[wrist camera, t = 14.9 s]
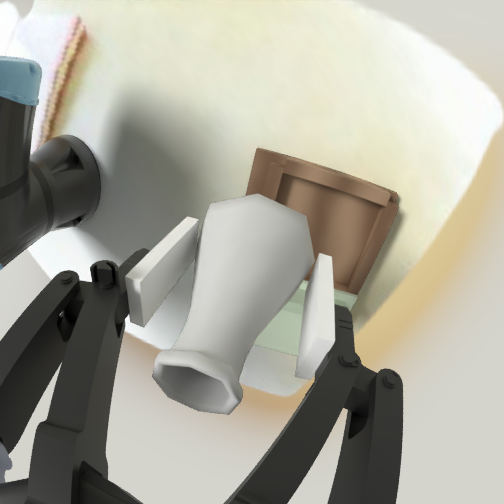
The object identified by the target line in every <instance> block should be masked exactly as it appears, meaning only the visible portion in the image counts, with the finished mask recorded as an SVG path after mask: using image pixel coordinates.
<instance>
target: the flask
mask: <svg viewBox="0 0 504 504" xmlns="http://www.w3.org/2000/svg"><path fill="white" fill-rule="evenodd" d="M314 263H315V259H314V253H313V248H312V242H311V237H310V232H309V227H308V222H307V217H306V216H305V215H303V214H301V213H299V212H297V211H295V210H293V209H291V208H289V207H286V206H284V205H282V204H280V203H278V202H276V201H273V200H271V199H269V198H267V197H265V196H262V195H260V194H253V195H248V196H243V197H238V198H234V199H229V200H224V201H220V202H215V203H211V204H210V206H209V209H208V212H207V215H206V218H205V221H204V224H203V227H202V230H201V233H200V236H199V239H198V242H197V247H196V257H195V270H194V280H193V289H192V297H191V306H190V312H189V315H188V318H187V321H186V324H185V326H184V328H183V330H182V332H181V334H180V335H179V337H178V339H177V341H176V343H175V345H174V346H173V347H172V348H171V350H166V349H165V350H162V351H161V352H160V353H159V354H158V356H157V358H156V360H155V365H154V370H153V375H152V377H153V379H154V380H155V381H156V383H157V384H158V385H159V386H160V388H161V389H162V390H163V392H164V393H165V394H166V395H167V396H168V397H169V398H171V399H173V400H175V401H177V402H179V403H182V404H184V405H186V406H188V407H190V408H193V409H195V410H197V411H203V412H209V413H218V414H228V415H229V414H230V413H231V412H232V411H233V410H234V409H235V408H236V407H237V406H238V404H239V403H240V402H241V400H242V397H243V390H242V387H241V385H240V383H239V377H240V374H241V371H242V368H243V365H244V362H245V359H246V356H247V354H248V352H249V351H250V349H251V347H252V345H253V344H254V342H255V340H256V338H257V337H258V336H259V335H260V333H261V332H262V331H263V330H264V329H265V328H266V326H267V325H268V324H269V323H270V322H271V320H272V319H273V318H274V317H275V316H276V315H277V314H278V313H279V312H280V311H281V310H282V308H283V307H284V306H285V305H286V304H287V303H288V302H289V301H290V300H291V298H292V297H293V296H294V294H295V293H296V291H297V290H298V288H299V287H300V285H301V283H302V282H303V280H304V279H305V277H306V275H307V274H308V272H309V271H310V269H311V267H312V266H313V264H314Z"/></svg>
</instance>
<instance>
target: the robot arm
mask: <svg viewBox="0 0 504 504" xmlns="http://www.w3.org/2000/svg"><path fill="white" fill-rule="evenodd" d="M41 78H42V69H41V67H40V65H39V64H38V63H37V62H35V61H33V60H29V59H24V58H17V57H8V56H0V270H2V268H3V267H4V266H6V265H7V264H8V263H9V262H10V261H12V260H13V259H14V258H15V257H17V256H18V255H19V254H20V253H22V252H23V251H24V250H25V249H27V248H28V247H29V246H31V245H32V244H33V243H34V242H36V241H37V240H38V239H40V238H41V237H42V236H44V235H45V234H47V233H48V232H50V231H55V230H60V229H65V228H70V227H75V226H77V225H79V224H81V223H83V222H84V221H86V220H87V219H89V218H90V217H91V216H92V215H93V213H94V212H95V210H96V208H97V206H98V202H99V198H100V177H99V172H98V168H97V165H96V162H95V159H94V157H93V155H92V153H91V152H90V150H89V149H88V147H87V146H86V145H85V144H84V143H83V142H82V141H81V140H80V139H78V138H76V137H74V136H71V135H62V136H58V137H55V138H52V139H50V140H48V141H47V142H45V143H44V144H43V145H42V146H40V147H39V148H38V149H37V150H36V151H34V152H33V153H32V154H31V155H30V149H31V138H32V130H33V123H34V116H35V110H36V106H37V105H38V103H39V99H38V95H39V89H40V83H41ZM198 225H199V219H196V218H192V217H188V216H187V217H186V218H185V219H184V220H183V221H182V222H181V223H180V224H179V225H178V226H176V227H175V228H174V229H173V230H172V231H171V232H170V233H169V234H168V235H167V236H166V237H165V238H164V239H163V240H161V241H160V242H159V243H158V244H157V245H156V246H155V247H154V248H153V249H152V250H151V251H150V250H147V249H144V248H143V249H141V250H139V251H136V252H135V253H134V254H133V255H132V256H130V258H128V259H127V260H126V261H125V262H124V263H123V264H122V265H121V266H120V267H119V268H118V266H117V264H116V263H114V262H112V261H108V260H102V261H98V262H96V263H94V264H93V265H92V266H91V267H90V271H91V277H92V282H86V281H80V280H79V276H78V274H77V273H76V272H74V271H70V270H68V271H63V272H60V273H59V274H57V275H56V276H55V277H54V278H53V279H52V280H51V282H50V283H49V284H48V285H47V286H46V287H45V288H44V289H43V290H42V291H41V292H40V294H39V295H38V296H37V297H36V298H35V299H34V300H33V301H32V303H31V304H30V305H29V306H28V307H27V308H26V310H25V311H24V312H23V313H22V315H21V316H20V317H19V318H18V319H17V321H16V322H15V323H14V324H13V325H12V327H11V328H10V329H9V330H8V332H7V333H6V334H5V336H4V337H3V338H2V340H1V341H0V504H143V503H142V502H140V501H139V500H137V499H136V498H135V497H134V496H132V495H131V494H130V493H128V492H127V491H125V490H123V489H121V488H120V487H119V486H117V485H116V484H114V483H112V482H110V481H109V480H108V463H107V459H106V453H105V452H106V440H107V429H108V421H109V413H110V405H111V398H112V392H113V386H114V379H115V373H116V368H117V363H118V358H119V353H120V348H121V343H122V338H123V334H124V329H125V318H126V317H127V316H128V314H129V316H130V322H132V323H134V324H136V325H139V326H141V327H145V325H146V324H147V323H148V321H149V320H150V318H151V317H152V316H153V314H154V313H155V311H156V310H157V309H158V307H159V306H160V304H161V303H162V302H163V300H164V299H165V298H166V296H167V295H168V294H169V292H170V291H171V289H172V288H173V287H174V285H175V284H176V283H177V281H178V280H179V279H180V277H181V276H182V275H183V273H184V272H185V271H186V269H187V268H188V267H189V265H190V264H191V263H192V261H193V260H194V259H195V253H196V243H197V234H198ZM61 312H62V314H61V315H60V313H61ZM59 315H60V316H59ZM352 323H353V322H352V315H351V313H350V311H349V309H348V308H347V307H344V306H340V305H337V304H334V285H333V267H332V257H331V256H328V255H325V254H321V253H319V255H318V258H317V261H316V263H315V266H314V269H313V271H312V274H311V277H310V279H309V282H308V284H307V287H306V290H305V298H304V308H303V317H302V325H301V334H300V342H299V350H298V357H297V364H296V371H295V377H299V378H304V379H308V380H311V379H312V378H313V376H314V375H315V382H314V383H313V385H312V386H311V387H310V389H309V390H308V392H307V393H306V394H305V397H304V399H303V400H302V402H301V403H300V405H299V406H298V408H297V409H296V411H295V412H294V414H293V415H292V417H291V419H290V420H289V421H288V423H287V424H286V426H285V427H284V429H283V430H282V432H281V433H280V435H279V436H278V437H277V439H276V440H275V442H274V443H273V444H272V446H271V447H270V448H269V449H268V451H267V452H266V453H265V455H264V456H263V457H262V459H261V460H260V461H259V462H258V464H257V465H256V466H255V468H254V469H253V470H252V471H251V473H250V474H249V475H248V476H247V477H246V479H245V480H244V481H243V482H242V483H241V485H240V486H239V487H238V488H237V489H236V490H235V492H234V493H233V494H232V495H231V496H230V497H229V498H228V500H227V501H226V502H225V503H224V504H287V503H288V502H289V500H290V499H291V497H292V496H293V494H294V493H295V491H296V490H297V488H298V487H299V485H300V484H301V482H302V480H303V479H304V477H305V476H306V474H307V473H308V471H309V470H310V468H311V466H312V465H313V463H314V461H315V459H316V458H317V456H318V454H319V452H320V451H321V449H322V447H323V445H324V444H325V442H326V440H327V438H328V436H329V434H330V432H331V431H332V429H333V427H334V425H335V423H336V421H337V419H338V417H339V415H340V413H341V411H342V409H343V408H345V409H348V413H347V419H346V425H345V430H344V436H343V441H342V446H341V451H340V456H339V460H338V465H337V469H336V474H335V478H334V481H333V485H332V489H331V493H330V497H329V500H328V504H396V498H397V492H398V484H399V476H400V465H401V453H402V436H403V383H402V380H401V378H400V376H399V375H398V374H397V373H396V372H395V371H393V370H391V369H382V370H380V371H379V372H378V373H376V372H374V371H372V370H370V369H368V368H366V367H364V366H363V365H362V364H361V360H360V357H359V356H358V355H357V354H356V353H355V347H354V334H353V324H352ZM61 362H62V364H61ZM60 364H61V368H60V371H59V374H58V378H57V381H56V385H55V389H54V392H53V397H52V400H51V405H50V409H49V413H48V417H47V419H46V420H45V421H44V422H40V423H39V425H38V426H37V429H36V433H35V438H34V444H33V449H32V456H31V463H30V471H29V478H27V479H22V480H17V481H12V482H7V483H5V478H4V475H5V471H6V470H10V469H11V468H12V461H11V459H10V458H9V456H8V454H9V453H10V452H11V451H12V450H13V449H14V447H15V446H16V444H17V443H18V441H19V440H20V438H21V436H22V434H23V432H24V430H25V428H26V426H27V424H28V422H29V420H30V418H31V416H32V414H33V412H34V410H35V408H36V406H37V404H38V402H39V401H40V399H41V397H42V395H43V393H44V391H45V390H46V388H47V386H48V384H49V382H50V381H51V379H52V377H53V376H54V374H55V372H56V371H57V369H58V367H59V365H60Z"/></svg>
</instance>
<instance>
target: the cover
mask: <svg viewBox="0 0 504 504" xmlns="http://www.w3.org/2000/svg"><path fill="white" fill-rule="evenodd" d="M308 282H309V281H305V280H303V282H302V283H301V285H300V287H299V288H298V290H297V291H296V293H295V294H294V296H293V297H292V298H291V300H290V301H289V302H288V303H287V304H286V305H285V306H284V307H283V308H282V310H281V311H280V312H279V313H278V314H277V315H276V316H275V317H274V318H273V319H272V320H271V322H270V323H269V324H268V325H267V326H266V328H265V329H264V330H263V331H262V332H261V333H260V335H259V336H258V337H257V338H256V340H255V342H254V345H258V346H261V347H265V348H269V349H272V350H276V351H280V352H284V353H288V354H292V355H296V356H298V350H299V342H300V334H301V325H302V317H303V308H304V298H305V290H306V287H307V284H308ZM356 300H357V295H354V294H351V293H347V292H344V291H340V290H337V289H334V304H337V305H340V306H344V307H347V308H348V309H349V311H351V309H352V307H353V305H354V304H355V302H356Z"/></svg>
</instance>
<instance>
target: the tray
mask: <svg viewBox="0 0 504 504" xmlns="http://www.w3.org/2000/svg"><path fill="white" fill-rule="evenodd" d="M253 194H260V195H262V196H265V197H267V198H269V199H271V200H273V201H276V202H278V203H280V204H282V205H284V206H286V207H289V208H291V209H293V210H295V211H297V212H299V213H301V214H303V215H305V216H306V217H307V222H308V227H309V232H310V237H311V242H312V248H313V253H314V259H315V263H316V261H317V258H318V255H319V253H321V254H325V255H328V256H331V257H332V267H333V285H334V289H337V290H340V291H344V292H347V293H351V294H354V295H357V294H358V292H359V290H360V288H361V287H362V285H363V283H364V281H365V279H366V277H367V275H368V273H369V271H370V269H371V267H372V265H373V263H374V261H375V259H376V257H377V255H378V253H379V251H380V249H381V247H382V244H383V242H384V240H385V238H386V236H387V234H388V231H389V229H390V227H391V225H392V222H393V220H394V218H395V215H396V213H397V211H398V208H399V207H398V205H397V204H396V200H397V198H398V194H397V193H396V192H394V191H391V190H389V189H386V188H384V187H381V186H378V185H376V184H373V183H370V182H368V181H365V180H362V179H360V178H357V177H354V176H351V175H348V174H345V173H342V172H339V171H336V170H333V169H330V168H327V167H324V166H321V165H318V164H315V163H311V162H308V161H305V160H301V159H298V158H295V157H291V156H288V155H284V154H280V153H277V152H273V151H269V150H265V149H261V148H257V149H256V153H255V157H254V161H253V166H252V170H251V174H250V179H249V183H248V187H247V192H246V196H248V195H253ZM315 263H314V264H313V266H312V267H311V269H310V271H309V272H308V274H307V275H306V277H305V279H304V280H305V281H309V279H310V277H311V274H312V271H313V269H314V266H315Z"/></svg>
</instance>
